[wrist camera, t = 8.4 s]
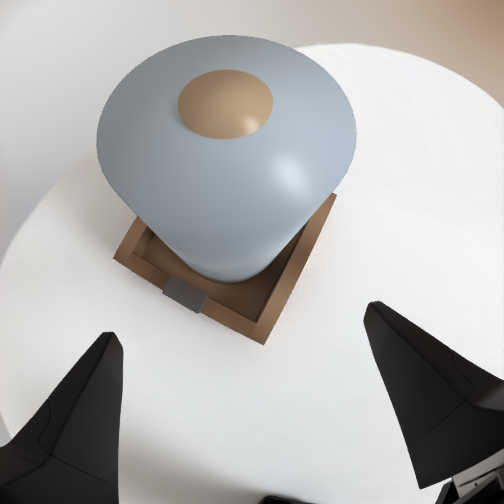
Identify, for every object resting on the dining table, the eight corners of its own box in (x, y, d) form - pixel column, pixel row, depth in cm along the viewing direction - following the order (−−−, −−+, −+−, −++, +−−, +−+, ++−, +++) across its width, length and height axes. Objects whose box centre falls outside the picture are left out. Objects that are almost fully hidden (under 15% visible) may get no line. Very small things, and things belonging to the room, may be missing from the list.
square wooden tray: (258, 341, 18) (264, 348, 15) (127, 266, 19) (107, 257, 15) (325, 207, 21) (341, 189, 17) (203, 147, 21) (198, 120, 18)
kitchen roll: (276, 287, 18) (372, 244, 6) (173, 280, 18) (62, 222, 5) (279, 191, 20) (340, 46, 7) (185, 184, 19) (138, 35, 6)
